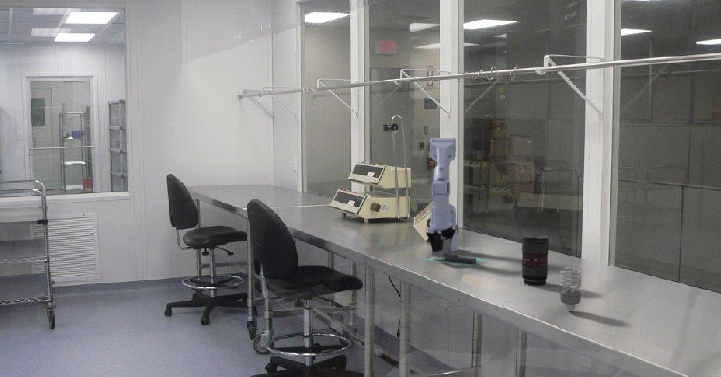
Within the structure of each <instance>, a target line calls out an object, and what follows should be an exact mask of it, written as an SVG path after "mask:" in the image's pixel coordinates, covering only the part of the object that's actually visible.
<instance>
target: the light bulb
mask: <svg viewBox="0 0 721 377" xmlns="http://www.w3.org/2000/svg"><path fill="white" fill-rule="evenodd" d="M559 273H560V274H561V275H559V278H560V279H559V282H560V284H559V285H560V286H561V287H564V288H566V289H562V290H560V292H559V293H560V294H559V296H560V302H561V304H563V305H565V309H566V310H567V311H569V310H572V311H574V310H575V309H576V305H578V304H580V303H581V298H582V293H581V291H579V289H580V288H581V286H582V284H581V283H582V282H583V281H582V279H583V278H582V277H583V276H582V271H581V270H580V269H577V268H575V267H574V266H566V267H565V270H561V271H560V272H559ZM571 287H573V288H571Z"/></svg>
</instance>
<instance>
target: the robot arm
mask: <svg viewBox="0 0 721 377" xmlns="http://www.w3.org/2000/svg"><path fill="white" fill-rule="evenodd" d="M429 140H430V142H429V143H430V144H429V147H430V148H429V149H430V152H429V153H430V157H431V159H432V160H433V161H435V163H436V164H437V165H436V166H435V167H434V169H433V181H432V182H431V195H432V207H431V208H430V226H428V227H427V231H426V234H425V235H426V236H427V238H428V240H429V243H430V246H431V249H429V251H430V252H432V251H433V252H438V251H439V243H440V238H441V237H446V238H450V239H451V253H452V252H455V251H458V250H459V251H460V248H458V231H457V230H456V229H455V228H456V227H457V210H456V207H455V206H454V205H453V204H451V203H450V195H451V183H450V182H451V181H450V165H451V163H452V162H453V161H454V160H456V156H457V153H456V152H457V139H456V137H431V139H429Z"/></svg>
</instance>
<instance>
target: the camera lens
mask: <svg viewBox="0 0 721 377" xmlns="http://www.w3.org/2000/svg"><path fill="white" fill-rule="evenodd" d="M521 240H522V241H521V254H522V258H521V263H522V266H521V278H522V279H523V284H524V283H525V284H524V285H526V284H528V285H527V286H530V285H536V286H535V287H537V286H538V285H541V286H544V285H546V283H547V279H548V274H549V273H548V272H549V262H548V261H549V260H548V259H549V250H550V249H549V247H550V246H549V245H550V242H549V241H550V240H549V236H546V235H541V234H525V235H523V236H522V239H521ZM538 287H539V286H538Z"/></svg>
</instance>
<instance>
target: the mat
mask: <svg viewBox="0 0 721 377" xmlns="http://www.w3.org/2000/svg"><path fill="white" fill-rule="evenodd" d="M457 255H458V256H460V255H459V254H457ZM461 256H462V257H468V256H466V255H465V256H464V255H461ZM469 257H470V258H476V264H472V265H471V264H464V263H457V262H449V261H435V260H433V256H432V257H429V258H425V259H423V261H427V262H434V263H435V262H436V263H443V264H447V265H448V264H449V265H456V266H463V267H468V268H469V267H473V266H476V265H479V264H484V263H486V262H490V261H491V259H489V258H480V257H473V256H469Z"/></svg>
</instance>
